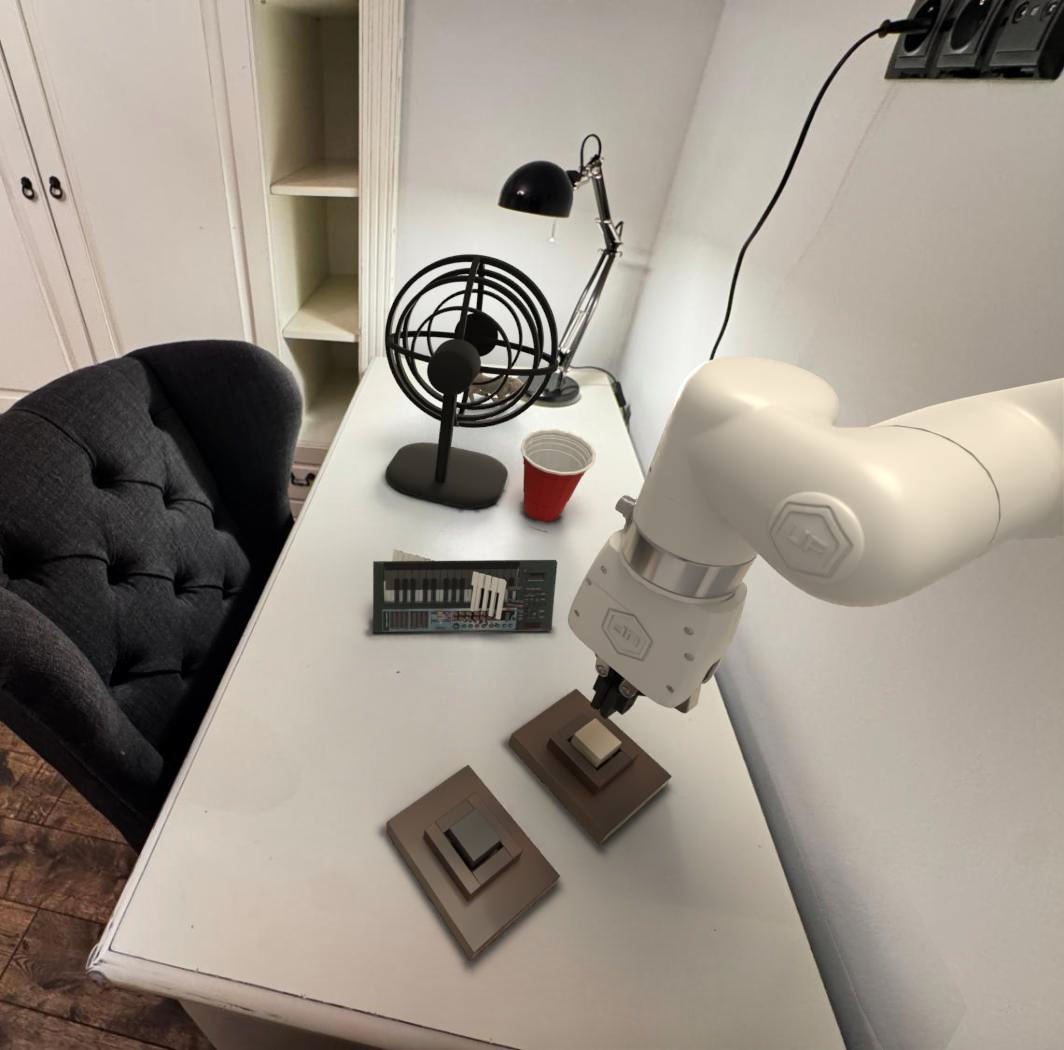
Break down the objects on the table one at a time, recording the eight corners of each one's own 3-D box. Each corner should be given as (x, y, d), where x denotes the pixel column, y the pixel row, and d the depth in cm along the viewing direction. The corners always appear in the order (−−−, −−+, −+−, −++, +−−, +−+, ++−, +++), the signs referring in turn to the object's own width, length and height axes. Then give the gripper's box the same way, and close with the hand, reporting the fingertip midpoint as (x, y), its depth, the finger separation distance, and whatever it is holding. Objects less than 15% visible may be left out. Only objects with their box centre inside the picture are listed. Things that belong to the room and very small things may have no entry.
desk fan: (536, 466, 101) (586, 256, 79) (516, 524, 89) (569, 294, 66) (393, 434, 109) (402, 235, 87) (357, 484, 97) (356, 267, 74)
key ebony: (498, 847, 50) (502, 838, 48) (471, 869, 48) (473, 861, 47) (474, 815, 52) (476, 806, 51) (447, 835, 50) (449, 827, 49)
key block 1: (555, 884, 51) (565, 868, 48) (470, 961, 46) (477, 947, 44) (465, 774, 58) (470, 755, 56) (385, 831, 54) (387, 812, 51)
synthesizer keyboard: (558, 555, 70) (555, 589, 62) (551, 625, 74) (547, 667, 65) (392, 537, 78) (367, 565, 69) (392, 601, 81) (368, 636, 72)
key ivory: (616, 751, 56) (622, 742, 55) (595, 768, 55) (600, 759, 54) (590, 726, 58) (595, 717, 57) (569, 742, 57) (574, 733, 56)
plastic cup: (508, 529, 88) (523, 465, 80) (506, 488, 96) (519, 426, 88) (581, 536, 87) (602, 472, 79) (572, 494, 95) (591, 432, 87)
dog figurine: (463, 405, 118) (468, 371, 113) (467, 392, 122) (472, 360, 118) (522, 413, 116) (529, 379, 111) (524, 400, 120) (531, 367, 115)
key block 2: (664, 786, 57) (678, 767, 55) (599, 845, 53) (611, 827, 51) (571, 699, 65) (580, 678, 62) (508, 744, 61) (514, 724, 58)
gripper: (559, 508, 41) (515, 664, 53) (765, 648, 31) (656, 801, 43) (626, 476, 44) (571, 630, 56) (833, 595, 34) (714, 751, 46)
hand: (608, 704), depth 49 cm, fingers closed
